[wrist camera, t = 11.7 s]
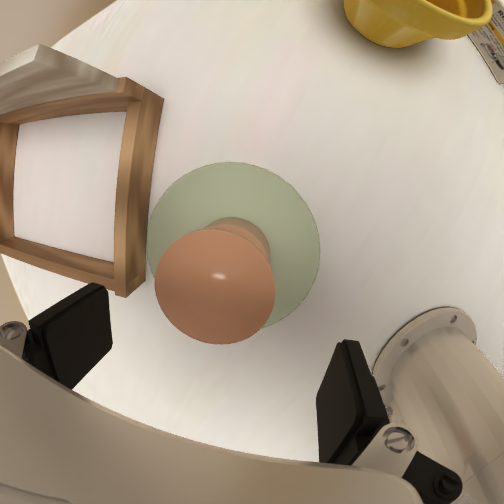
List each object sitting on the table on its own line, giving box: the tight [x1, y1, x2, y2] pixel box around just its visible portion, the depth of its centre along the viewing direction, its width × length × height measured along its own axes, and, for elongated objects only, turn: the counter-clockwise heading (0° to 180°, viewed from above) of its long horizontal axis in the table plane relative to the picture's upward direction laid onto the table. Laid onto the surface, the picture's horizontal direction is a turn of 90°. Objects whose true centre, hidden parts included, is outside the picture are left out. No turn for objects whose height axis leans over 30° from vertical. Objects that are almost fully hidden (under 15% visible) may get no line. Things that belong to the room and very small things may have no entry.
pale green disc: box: [147, 162, 320, 328], centre depth 20 cm, size 13×13×1 cm
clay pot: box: [155, 217, 275, 344], centre depth 17 cm, size 6×6×7 cm
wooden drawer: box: [0, 44, 164, 298], centre depth 14 cm, size 15×20×13 cm
